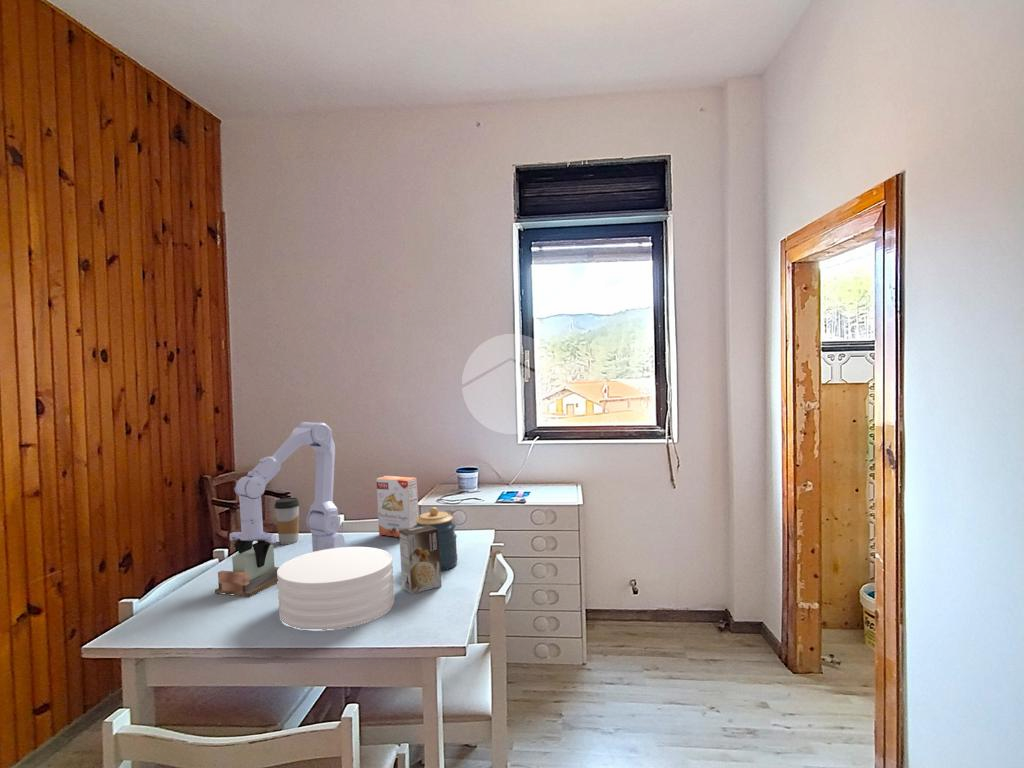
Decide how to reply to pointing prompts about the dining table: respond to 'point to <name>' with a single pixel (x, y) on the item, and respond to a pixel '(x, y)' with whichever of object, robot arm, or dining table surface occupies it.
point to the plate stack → (335, 587)
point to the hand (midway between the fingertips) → (254, 565)
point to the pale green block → (253, 563)
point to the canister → (442, 535)
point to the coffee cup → (287, 520)
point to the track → (244, 582)
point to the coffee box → (420, 558)
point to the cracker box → (396, 504)
